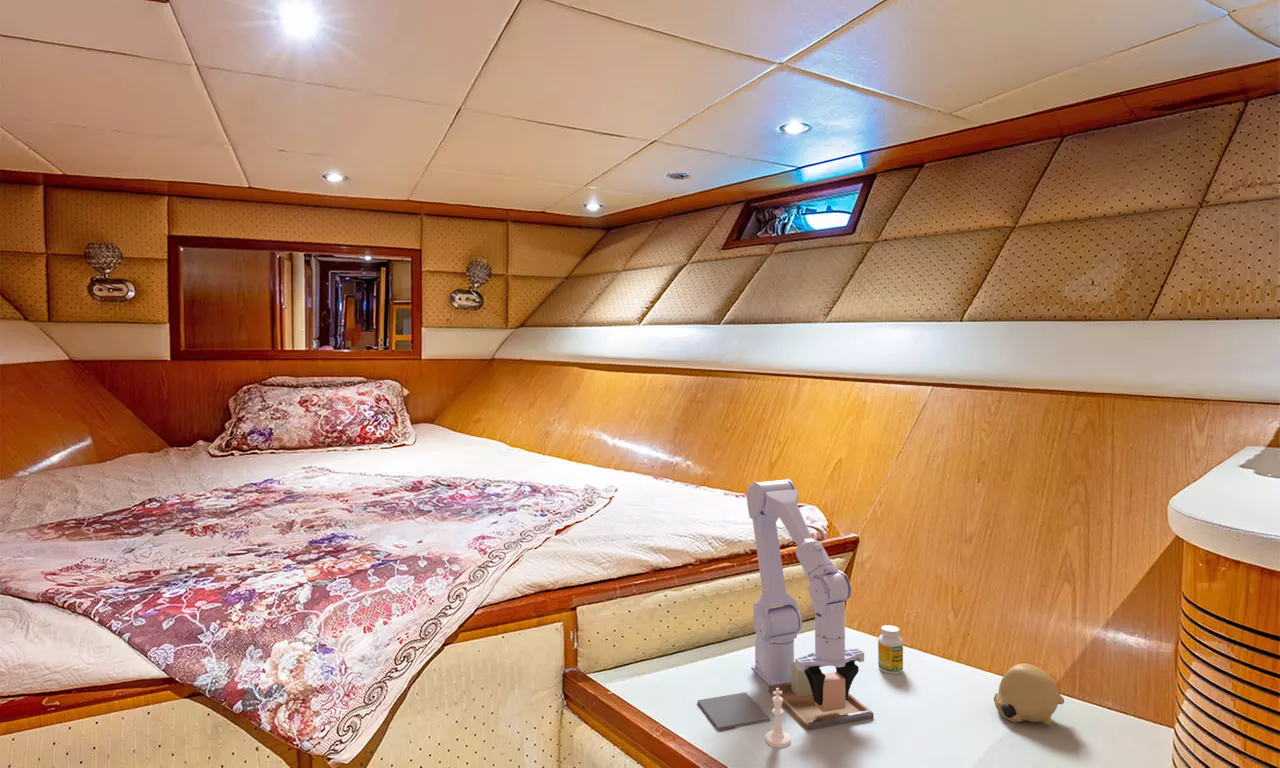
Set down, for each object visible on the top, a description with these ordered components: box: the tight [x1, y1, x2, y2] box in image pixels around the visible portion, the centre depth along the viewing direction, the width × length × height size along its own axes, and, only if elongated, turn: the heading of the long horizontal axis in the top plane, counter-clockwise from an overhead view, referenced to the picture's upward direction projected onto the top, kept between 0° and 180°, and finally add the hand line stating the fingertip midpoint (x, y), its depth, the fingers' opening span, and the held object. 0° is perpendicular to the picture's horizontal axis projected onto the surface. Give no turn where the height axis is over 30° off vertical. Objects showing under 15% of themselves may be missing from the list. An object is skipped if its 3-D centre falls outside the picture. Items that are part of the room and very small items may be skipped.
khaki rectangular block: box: [791, 661, 812, 697], centre depth 144 cm, size 3×5×6 cm, turn 106°
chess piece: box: [764, 688, 792, 748], centre depth 126 cm, size 5×5×10 cm
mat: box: [697, 691, 771, 731], centre depth 136 cm, size 11×11×1 cm
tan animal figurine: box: [993, 662, 1065, 726], centre depth 132 cm, size 10×12×11 cm
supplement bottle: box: [877, 624, 904, 675], centre depth 154 cm, size 5×5×10 cm
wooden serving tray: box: [768, 683, 874, 731], centre depth 138 cm, size 16×15×2 cm
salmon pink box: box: [815, 671, 845, 712], centre depth 134 cm, size 3×5×6 cm, turn 106°
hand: (830, 700), depth 134 cm, fingers closed on salmon pink box, 5 cm apart
